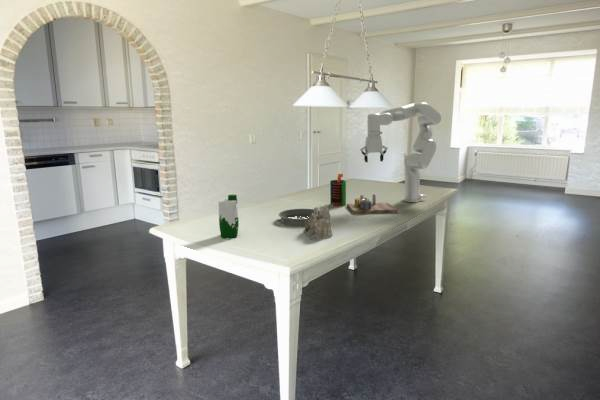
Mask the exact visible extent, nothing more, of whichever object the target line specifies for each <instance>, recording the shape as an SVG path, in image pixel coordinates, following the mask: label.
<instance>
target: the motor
mask: <svg viewBox="0 0 600 400" xmlns="http://www.w3.org/2000/svg"><path fill="white" fill-rule="evenodd" d="M343 177H344V175H343V173H338V174H337V179H331V180H330V181H329V182H330V184H329V185H330V187H329V188H330V191H329V192H330V202H329V203H330V205H332V206H334V207H345V206H347V180H344V179H342V178H343Z"/></svg>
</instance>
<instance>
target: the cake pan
mask: <svg viewBox="0 0 600 400" xmlns="http://www.w3.org/2000/svg"><path fill="white" fill-rule="evenodd" d="M319 212H320V210H319V209H318V215H319ZM312 213H314V208H313V209H311V208H291V209H286V210H285V209H284V210H282V211H280V212H279V213H278V217H280V219H281V222H282V224H284V223H285V224H284V225H288V226H296V227H303V226H305V223H304V222H305V221H306V220H307V219H308V217H309V216H310V215H311V214H312ZM295 216H297V219H292V218H288V217H295ZM300 216H301V217H300ZM307 216H308V217H307ZM302 217H305V218H307V219H304V218H302ZM299 218H300V219H299Z"/></svg>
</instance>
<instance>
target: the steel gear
mask: <svg viewBox="0 0 600 400" xmlns="http://www.w3.org/2000/svg"><path fill="white" fill-rule="evenodd" d="M371 203H372V200H370V199H369V200H367V202H364V200H362V201H360V209H362V210H370V209H371Z"/></svg>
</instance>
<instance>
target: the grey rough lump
mask: <svg viewBox="0 0 600 400" xmlns="http://www.w3.org/2000/svg"><path fill="white" fill-rule="evenodd" d="M313 209H314V213H312V214H311V215H310V216H309V218H308V219H307V220H306V221H305V222H304V223H305V226H304V229H303V230H302V231H303V232H302V234H303V235H304V237H305V238H306V239H307V240H311V241H312V240H313V241H323V240H326V239H330V238H331V237H332V236H333V229H332V222H331V214H330V213H331V212H330V210H329V209H328V204H325V205H324V206H323V208H320V210H319V208H318V207H317V206H316V207H315V206H314V207H313ZM318 210H319V211H320V212H319V215H318Z"/></svg>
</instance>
